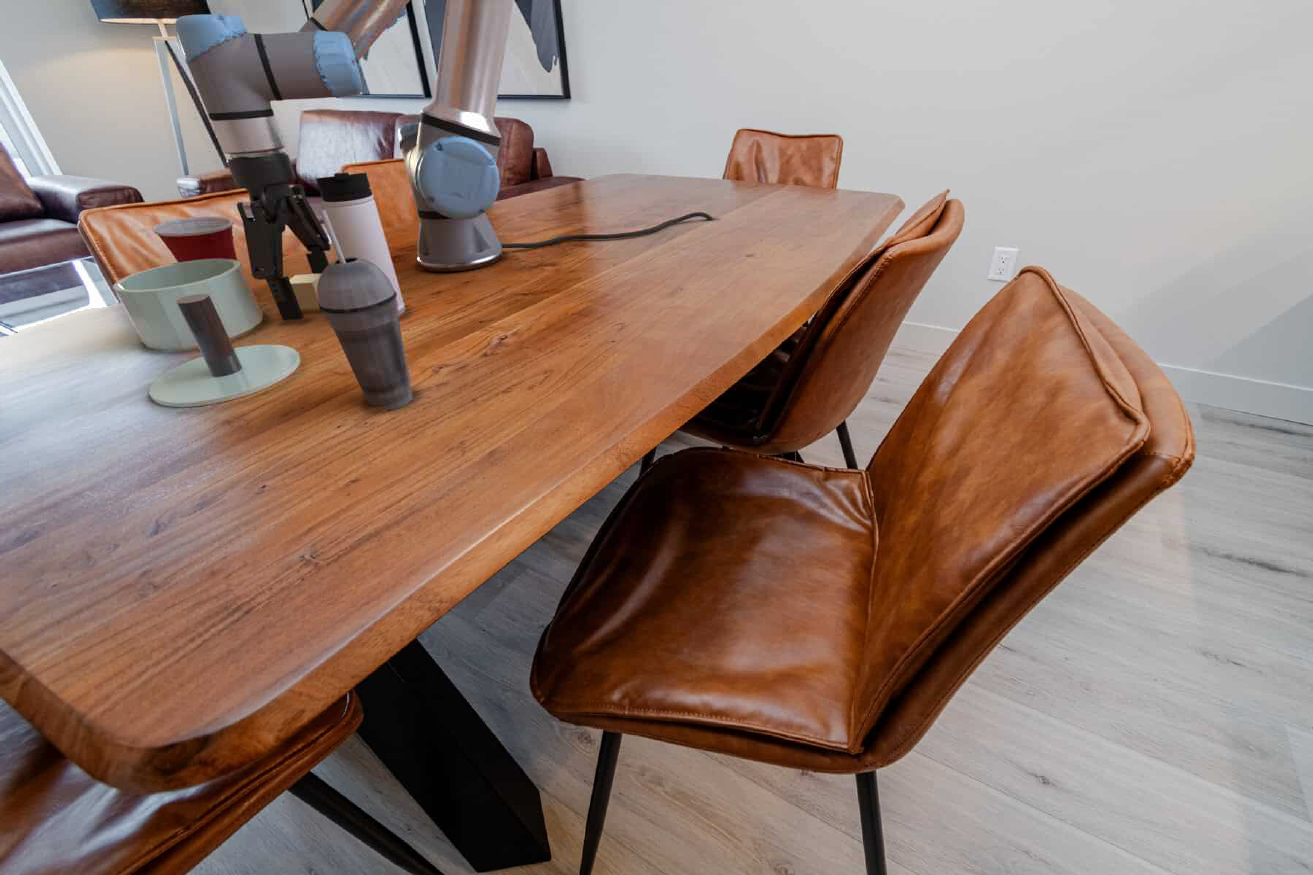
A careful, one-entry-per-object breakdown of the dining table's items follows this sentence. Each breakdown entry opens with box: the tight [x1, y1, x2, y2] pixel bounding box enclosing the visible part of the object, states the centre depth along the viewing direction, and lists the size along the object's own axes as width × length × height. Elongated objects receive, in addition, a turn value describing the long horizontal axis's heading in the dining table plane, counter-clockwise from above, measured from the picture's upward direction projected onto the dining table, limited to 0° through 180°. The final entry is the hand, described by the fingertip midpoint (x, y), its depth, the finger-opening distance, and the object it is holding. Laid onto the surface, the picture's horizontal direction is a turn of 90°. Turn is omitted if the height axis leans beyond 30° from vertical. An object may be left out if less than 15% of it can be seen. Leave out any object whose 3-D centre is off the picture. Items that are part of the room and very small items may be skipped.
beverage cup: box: [317, 209, 414, 411], centre depth 61 cm, size 7×7×20 cm
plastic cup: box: [151, 215, 238, 263], centre depth 98 cm, size 11×11×12 cm
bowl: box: [112, 258, 264, 351], centre depth 84 cm, size 15×15×8 cm
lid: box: [148, 294, 302, 408], centre depth 70 cm, size 16×16×10 cm
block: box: [289, 273, 322, 311], centre depth 92 cm, size 5×5×5 cm
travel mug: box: [315, 171, 406, 316], centre depth 83 cm, size 6×7×20 cm
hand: (312, 306), depth 93 cm, fingers open, 12 cm apart
